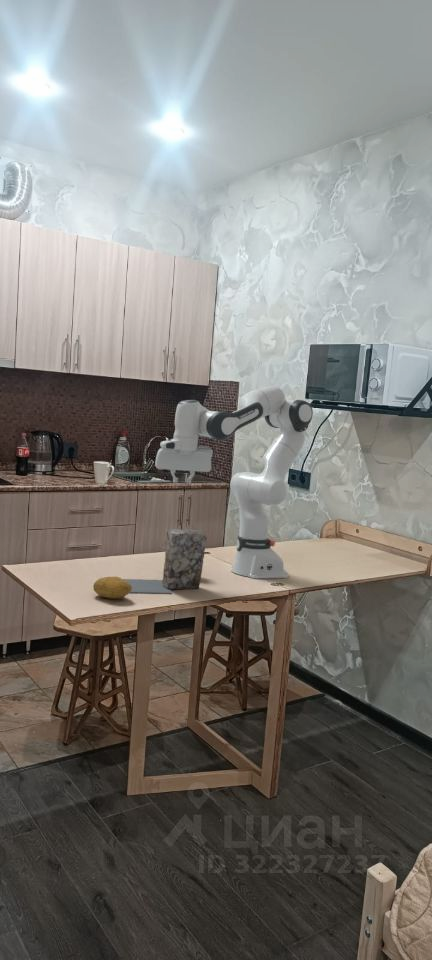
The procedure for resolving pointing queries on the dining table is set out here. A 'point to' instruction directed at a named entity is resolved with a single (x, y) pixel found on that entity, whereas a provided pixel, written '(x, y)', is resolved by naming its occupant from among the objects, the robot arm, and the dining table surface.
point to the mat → (148, 586)
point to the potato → (112, 587)
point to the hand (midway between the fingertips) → (181, 482)
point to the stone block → (183, 559)
